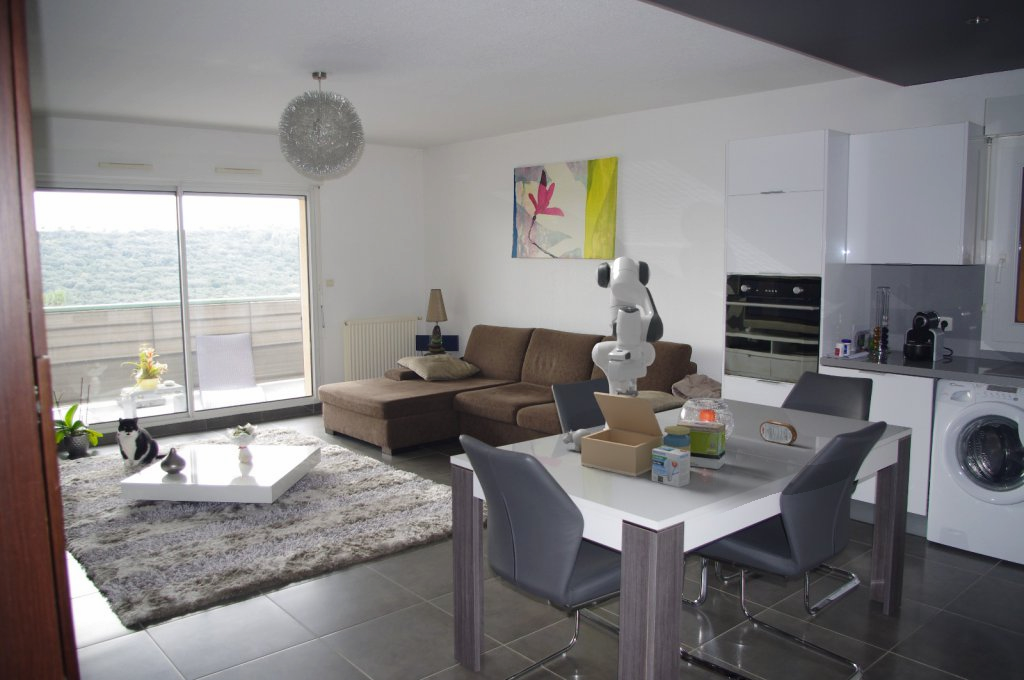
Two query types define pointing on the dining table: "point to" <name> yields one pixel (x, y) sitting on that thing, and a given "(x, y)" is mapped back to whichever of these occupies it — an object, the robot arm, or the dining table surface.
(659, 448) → the light bulb box
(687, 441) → the jar
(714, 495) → the dining table surface
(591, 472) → the dining table surface
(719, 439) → the tea box
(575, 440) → the toy rhinoceros
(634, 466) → the carton
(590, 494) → the dining table surface
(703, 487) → the dining table surface
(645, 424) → the carton flap
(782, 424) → the tin
